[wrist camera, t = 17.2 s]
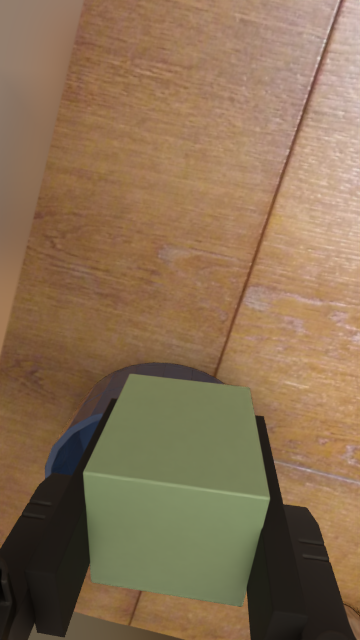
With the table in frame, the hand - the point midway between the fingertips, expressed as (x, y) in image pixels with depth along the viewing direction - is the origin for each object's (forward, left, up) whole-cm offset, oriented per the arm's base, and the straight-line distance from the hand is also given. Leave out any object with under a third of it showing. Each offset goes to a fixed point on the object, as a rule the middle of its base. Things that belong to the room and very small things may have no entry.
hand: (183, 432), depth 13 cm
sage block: (0, 0, 0) cm, 0 cm away
